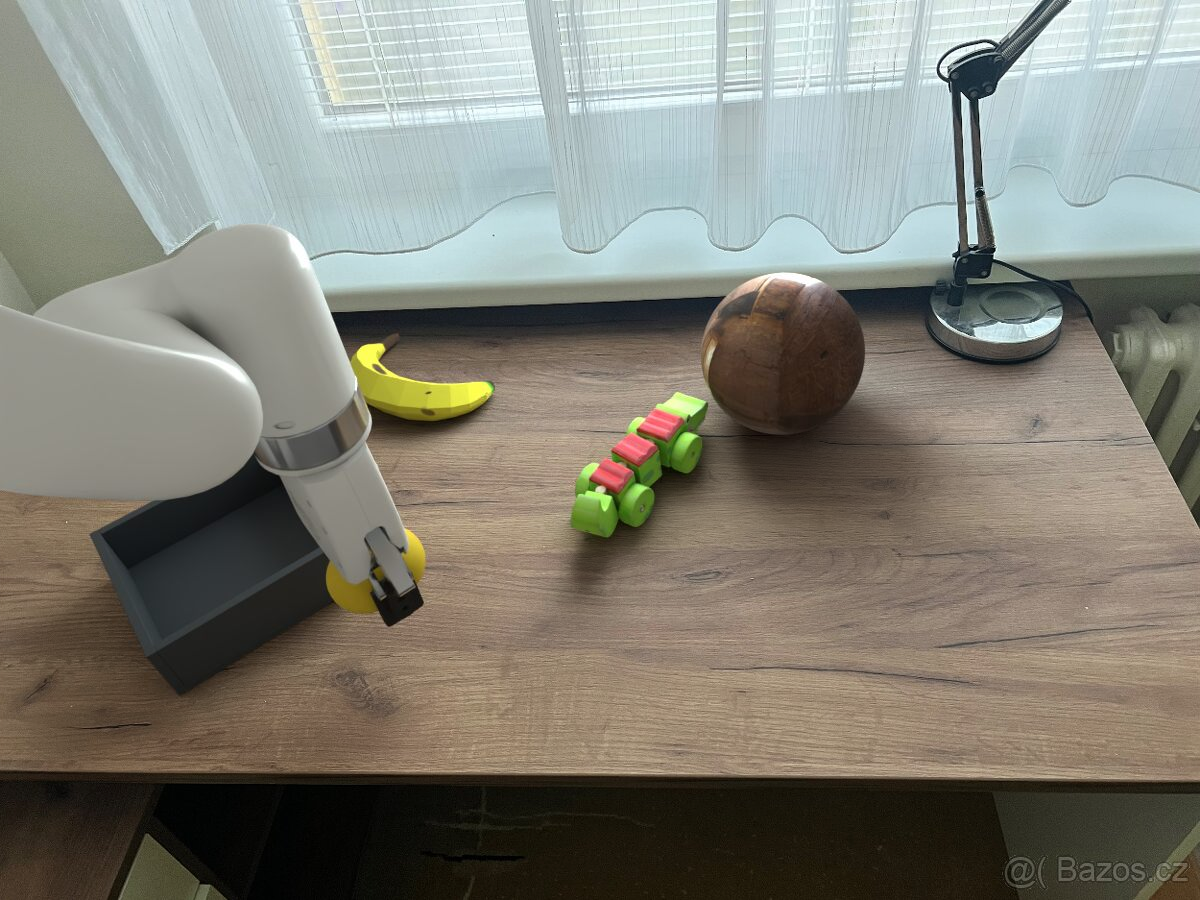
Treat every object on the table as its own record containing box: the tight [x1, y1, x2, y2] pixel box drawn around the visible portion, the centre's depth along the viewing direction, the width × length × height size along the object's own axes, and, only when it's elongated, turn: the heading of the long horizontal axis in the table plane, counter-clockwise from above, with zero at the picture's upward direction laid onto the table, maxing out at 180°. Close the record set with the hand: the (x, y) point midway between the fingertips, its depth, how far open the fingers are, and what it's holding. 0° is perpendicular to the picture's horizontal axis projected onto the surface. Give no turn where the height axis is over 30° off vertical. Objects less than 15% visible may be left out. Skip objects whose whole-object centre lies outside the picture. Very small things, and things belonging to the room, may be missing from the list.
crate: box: [89, 453, 335, 697], centre depth 77 cm, size 18×17×6 cm
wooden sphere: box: [700, 272, 866, 436], centre depth 82 cm, size 15×15×15 cm
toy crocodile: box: [570, 391, 709, 538], centre depth 80 cm, size 20×7×6 cm, turn 142°
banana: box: [349, 332, 496, 422], centre depth 95 cm, size 5×17×15 cm
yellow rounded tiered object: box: [326, 527, 427, 615], centre depth 66 cm, size 8×6×6 cm
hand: (384, 587), depth 68 cm, fingers closed on yellow rounded tiered object, 5 cm apart
